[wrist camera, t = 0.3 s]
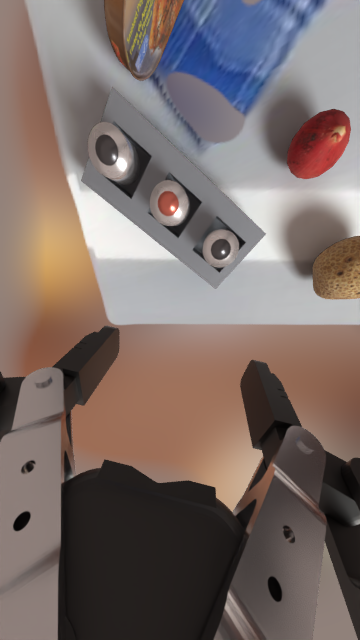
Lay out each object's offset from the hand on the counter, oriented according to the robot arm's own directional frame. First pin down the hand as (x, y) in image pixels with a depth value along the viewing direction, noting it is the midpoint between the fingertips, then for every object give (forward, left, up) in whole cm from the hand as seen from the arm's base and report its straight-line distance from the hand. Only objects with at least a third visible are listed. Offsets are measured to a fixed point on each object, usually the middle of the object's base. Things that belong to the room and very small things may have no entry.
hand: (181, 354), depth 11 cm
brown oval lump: (-14, +17, -26) cm, 34 cm away
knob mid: (-5, -8, -19) cm, 22 cm away
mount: (-5, -8, -25) cm, 27 cm away
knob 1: (-5, -16, -19) cm, 26 cm away
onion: (-20, +2, -26) cm, 33 cm away
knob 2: (-5, 0, -19) cm, 20 cm away
